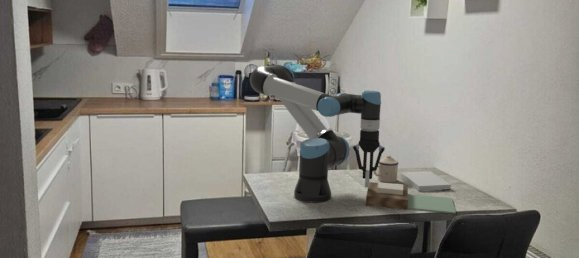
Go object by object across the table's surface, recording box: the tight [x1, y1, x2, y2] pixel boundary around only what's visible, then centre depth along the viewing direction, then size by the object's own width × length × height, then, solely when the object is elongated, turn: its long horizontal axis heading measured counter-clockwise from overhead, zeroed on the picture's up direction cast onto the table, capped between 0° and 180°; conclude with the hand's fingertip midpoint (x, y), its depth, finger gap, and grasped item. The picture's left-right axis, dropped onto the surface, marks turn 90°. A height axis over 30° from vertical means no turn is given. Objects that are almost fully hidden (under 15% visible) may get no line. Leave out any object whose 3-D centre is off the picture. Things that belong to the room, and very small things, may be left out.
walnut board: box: [365, 181, 409, 211], centre depth 214 cm, size 16×20×4 cm
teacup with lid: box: [372, 155, 399, 184], centre depth 242 cm, size 12×9×12 cm
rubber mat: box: [407, 193, 457, 215], centre depth 211 cm, size 18×18×1 cm
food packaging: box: [399, 170, 452, 192], centre depth 239 cm, size 15×3×20 cm
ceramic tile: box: [377, 181, 404, 195], centre depth 213 cm, size 10×8×2 cm
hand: (366, 186), depth 215 cm, fingers closed
